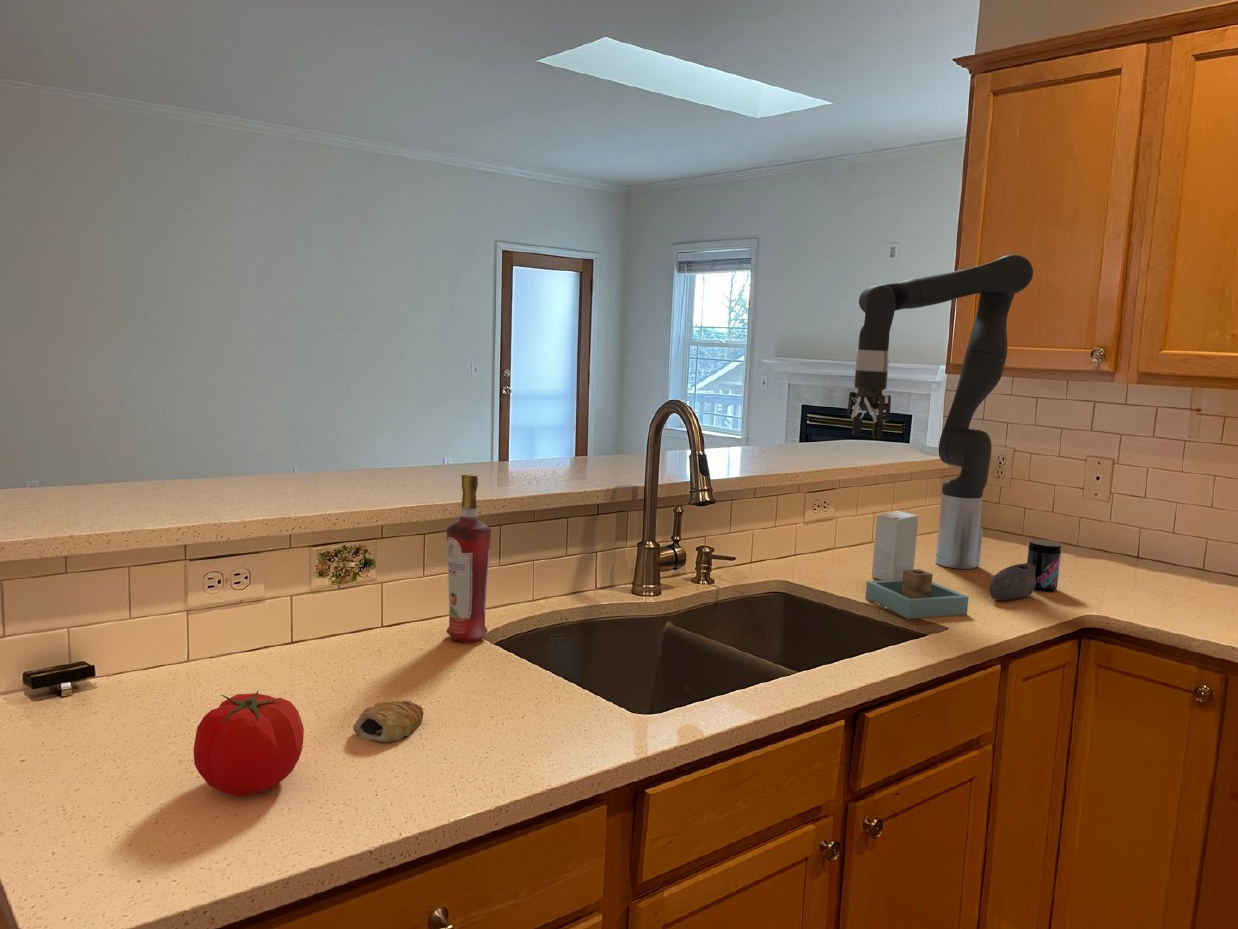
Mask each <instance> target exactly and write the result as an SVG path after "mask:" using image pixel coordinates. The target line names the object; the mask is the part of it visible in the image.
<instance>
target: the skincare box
mask: <svg viewBox="0 0 1238 929" xmlns="http://www.w3.org/2000/svg"><path fill="white" fill-rule="evenodd" d="M919 518H920V516H919V515H916V514H913V513H909V512H905V511H900V510H895V511H891V512H890V511H889V512H886V513H881V514H877V515H876V524H875V535H874V537H875V538H874V545H873V556H872V557H873V558H872V567H871V568H872V569H871V577H872V578H873V579H876V578H877V579H876V580H879V581H885V580H902V579H903V571H904V570H914V567H915V558H916V549H917V536H918V527H919V526H918V525H919Z"/></svg>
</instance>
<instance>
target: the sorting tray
mask: <svg viewBox="0 0 1238 929" xmlns="http://www.w3.org/2000/svg"><path fill="white" fill-rule="evenodd" d="M902 582H903V579H902V580H885V581H883V580H870V581H866V587H865V588H866V589H865V599H866V600H868V599H869V600H868V601H870V602H872V601H874V602H876V603H878V604H880V605H881V606H880V605H879V606H880V607H882V606H883V607H882V608H884V607H887V608H888V609H889V610H888V609H887V610H888V611H890V610H891V611H890V612H892V611H893V613H895V614H897V615H899V616H901V617H904V618H905V619H907V620H908V619H909V620H911V619H922V618H923V619H925V618H938V617H948V616H950V617H951V616H965V614H966V615H968V606H969V596H967V595H966V594H963V593H961V592H958V591H955V590H953V589H951V588H948V587H946V586H943V585H941V584H938V583H937V582H936V583H935V581H932V587H931V597H929V598H914V599H910V598H908V597H906V596H903V595H901V594H902ZM874 602H873V603H874ZM876 603H875V604H876ZM878 604H877V605H878Z"/></svg>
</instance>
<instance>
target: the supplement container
mask: <svg viewBox="0 0 1238 929" xmlns="http://www.w3.org/2000/svg"><path fill="white" fill-rule="evenodd" d="M1027 548H1028V549H1027V557H1026V563H1030V564H1033V565H1034V566H1036V571H1035V578H1036V586H1035V588H1034V590H1033V591H1035V590H1036V592H1041V591H1042V592H1043V593H1053V592H1055V591H1057V590H1058V585H1059V576H1060V575H1059V574H1060V567H1061V560H1062V559H1061V556H1062V549H1063V544H1062V543H1060V542H1058V541H1054V540H1047V539H1037V538H1036V539H1034V538H1033V539H1030V540H1028V545H1027ZM1042 592H1041V593H1042Z"/></svg>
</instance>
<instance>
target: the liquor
mask: <svg viewBox="0 0 1238 929" xmlns="http://www.w3.org/2000/svg"><path fill="white" fill-rule="evenodd" d="M478 483H479V475H478V474H477V473H464V474H461V489H462V490H461V492H462V495H461V497H462V498H461V506H460V516H459V520H458V521H455V522H453V523H452V524H450V525H449V526H448V527H447V528H446V556H447V558H446V559H447V560H446V561H447V577H448V578H447V581H448V616H449V617H448V621H449V622H448V627H447V629H446V634H448V635H449V637H451V638H452V639H453V640H454V641H455V640H456V642H458V641H459V642H458V643H463V642H470V643H474V642H475V641H476V642H478V641H480V640H481V639H482V638H483V637H484V636H485V635H486V634H487V633H488V628H487V626H486V608H487V607H486V606H487V590H488V588H487V587H488V577H489V576H488V575H489V568H490V567H489V564H490V552H491V550H490V549H491V536H492V535H491V534H492V533H491V532H492V528H490V527H489V526H488V525H487V524H486V523H484V522H482V521H480V520H479V518H478V516H479V515H478V502H477V501H478V500H477V491H478V486H479V484H478Z"/></svg>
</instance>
